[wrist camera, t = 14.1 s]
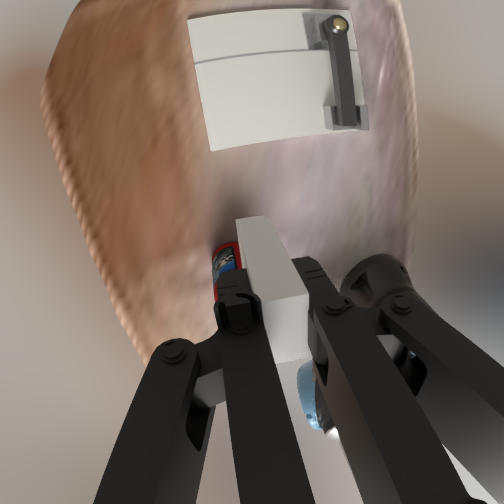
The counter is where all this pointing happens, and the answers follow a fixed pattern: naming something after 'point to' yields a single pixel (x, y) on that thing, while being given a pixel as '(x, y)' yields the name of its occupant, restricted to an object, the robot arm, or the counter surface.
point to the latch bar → (341, 69)
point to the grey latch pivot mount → (316, 31)
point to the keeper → (332, 125)
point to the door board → (264, 76)
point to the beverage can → (225, 262)
